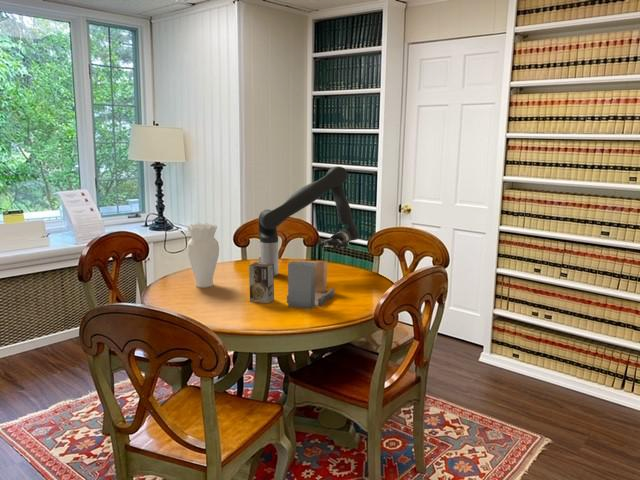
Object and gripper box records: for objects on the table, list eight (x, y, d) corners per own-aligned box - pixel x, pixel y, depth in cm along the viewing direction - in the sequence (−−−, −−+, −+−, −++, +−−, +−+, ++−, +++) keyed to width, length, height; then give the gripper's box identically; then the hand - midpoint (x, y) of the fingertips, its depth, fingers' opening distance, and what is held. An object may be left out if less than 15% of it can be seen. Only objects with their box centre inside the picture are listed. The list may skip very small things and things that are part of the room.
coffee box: (274, 299, 234) (274, 263, 231) (268, 303, 228) (268, 266, 225) (255, 297, 237) (255, 261, 234) (249, 301, 231) (248, 264, 228)
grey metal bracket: (282, 305, 225) (282, 263, 221) (302, 291, 246) (302, 252, 243) (316, 310, 220) (317, 266, 216) (334, 294, 241) (334, 254, 238)
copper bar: (314, 292, 245) (314, 262, 242) (317, 289, 249) (317, 260, 247) (323, 293, 244) (323, 263, 241) (326, 290, 248) (327, 261, 245)
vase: (219, 288, 249) (217, 227, 244) (187, 290, 247) (184, 227, 242) (220, 280, 263) (218, 222, 258) (189, 281, 261) (187, 222, 256)
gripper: (325, 231, 270) (314, 237, 255) (353, 233, 265) (343, 239, 250) (326, 246, 271) (314, 253, 256) (353, 248, 266) (343, 255, 251)
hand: (329, 246), depth 253 cm, fingers open, 8 cm apart
